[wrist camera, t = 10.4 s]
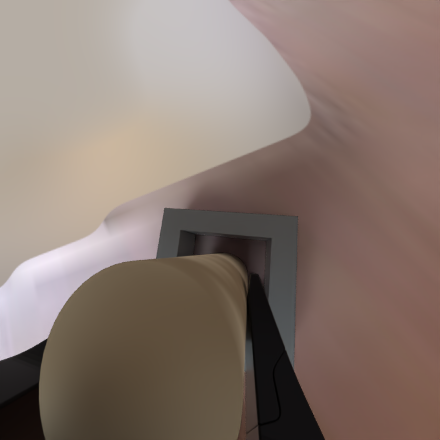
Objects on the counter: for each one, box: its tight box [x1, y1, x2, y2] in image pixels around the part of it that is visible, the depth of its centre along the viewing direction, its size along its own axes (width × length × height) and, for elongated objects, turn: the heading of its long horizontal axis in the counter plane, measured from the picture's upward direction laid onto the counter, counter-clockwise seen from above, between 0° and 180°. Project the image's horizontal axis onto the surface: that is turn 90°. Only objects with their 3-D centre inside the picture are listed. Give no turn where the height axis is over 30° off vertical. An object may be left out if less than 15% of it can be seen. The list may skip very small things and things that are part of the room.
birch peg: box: [39, 253, 248, 440], centre depth 9 cm, size 4×4×12 cm
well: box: [156, 208, 298, 372], centre depth 14 cm, size 11×11×4 cm
